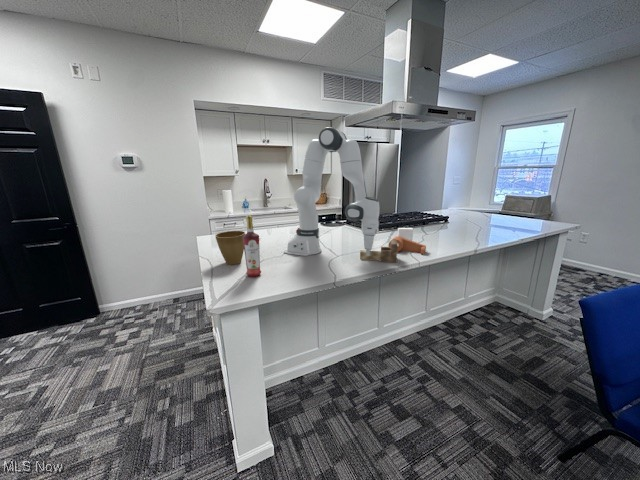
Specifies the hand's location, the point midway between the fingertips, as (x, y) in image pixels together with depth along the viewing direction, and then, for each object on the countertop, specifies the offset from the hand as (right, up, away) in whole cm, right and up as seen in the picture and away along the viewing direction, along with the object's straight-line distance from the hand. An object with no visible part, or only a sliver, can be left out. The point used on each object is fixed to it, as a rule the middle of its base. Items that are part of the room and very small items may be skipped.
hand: (368, 252), depth 143 cm
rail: (+3, -3, +1) cm, 4 cm away
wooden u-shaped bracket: (+10, -4, -1) cm, 11 cm away
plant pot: (-73, -5, -2) cm, 73 cm away
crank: (+25, 0, +13) cm, 28 cm away
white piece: (+26, +2, +21) cm, 34 cm away
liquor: (-58, -10, -20) cm, 62 cm away
